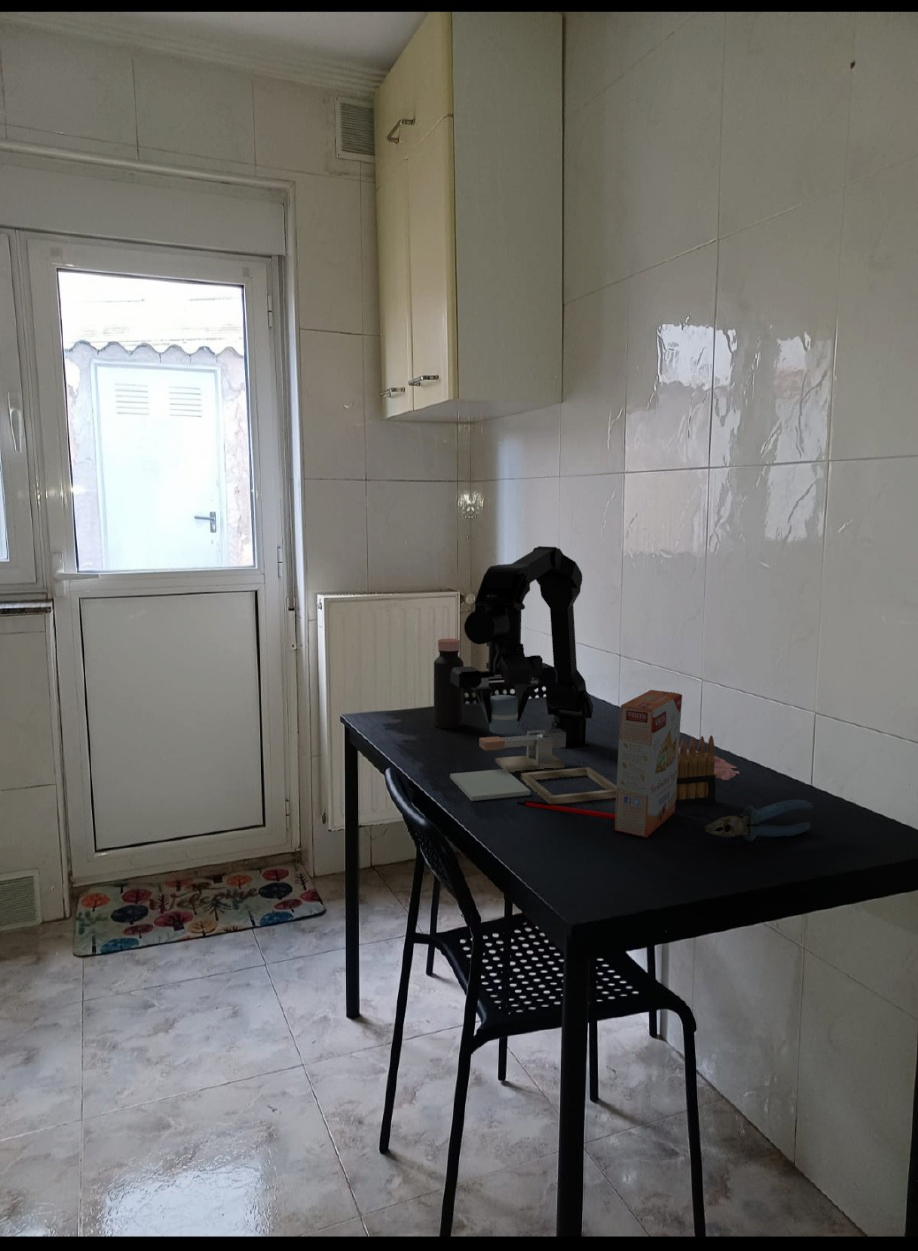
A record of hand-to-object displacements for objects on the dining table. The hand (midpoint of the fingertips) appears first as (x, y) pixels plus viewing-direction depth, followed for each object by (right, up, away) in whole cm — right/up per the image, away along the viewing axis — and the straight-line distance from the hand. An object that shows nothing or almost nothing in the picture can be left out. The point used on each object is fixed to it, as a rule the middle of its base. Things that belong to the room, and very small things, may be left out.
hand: (503, 722), depth 159 cm
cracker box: (+23, -15, -15) cm, 31 cm away
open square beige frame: (+12, -12, +2) cm, 18 cm away
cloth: (+38, -11, +18) cm, 43 cm away
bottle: (-10, -6, +44) cm, 46 cm away
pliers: (+39, -16, -22) cm, 48 cm away
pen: (+11, -15, -10) cm, 21 cm away
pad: (-2, -12, +2) cm, 13 cm away
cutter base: (+6, -10, +15) cm, 19 cm away
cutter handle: (+5, -7, +14) cm, 16 cm away
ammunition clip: (+32, -14, -6) cm, 35 cm away
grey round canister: (0, -2, 0) cm, 2 cm away
